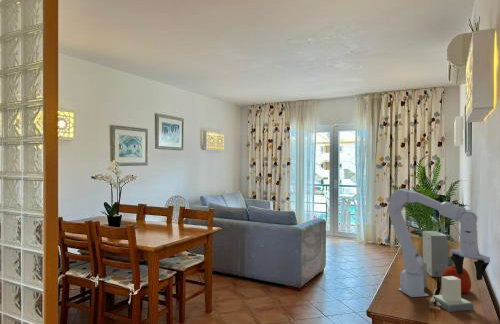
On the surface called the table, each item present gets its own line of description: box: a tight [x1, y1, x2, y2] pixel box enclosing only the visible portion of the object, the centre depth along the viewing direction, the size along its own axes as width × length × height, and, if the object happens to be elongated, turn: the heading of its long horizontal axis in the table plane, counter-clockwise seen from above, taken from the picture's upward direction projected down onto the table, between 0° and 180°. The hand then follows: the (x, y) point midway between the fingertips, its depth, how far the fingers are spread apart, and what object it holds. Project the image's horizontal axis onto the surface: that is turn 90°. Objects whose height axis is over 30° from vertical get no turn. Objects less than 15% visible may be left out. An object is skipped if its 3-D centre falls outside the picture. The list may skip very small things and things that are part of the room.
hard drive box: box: [422, 230, 449, 278], centre depth 175 cm, size 16×8×20 cm, turn 168°
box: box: [421, 262, 428, 288], centre depth 156 cm, size 5×4×11 cm
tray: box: [430, 294, 474, 313], centre depth 134 cm, size 10×10×2 cm
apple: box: [442, 265, 472, 294], centre depth 150 cm, size 11×11×11 cm
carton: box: [440, 276, 462, 301], centre depth 134 cm, size 4×5×8 cm
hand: (469, 276), depth 135 cm, fingers open, 7 cm apart
